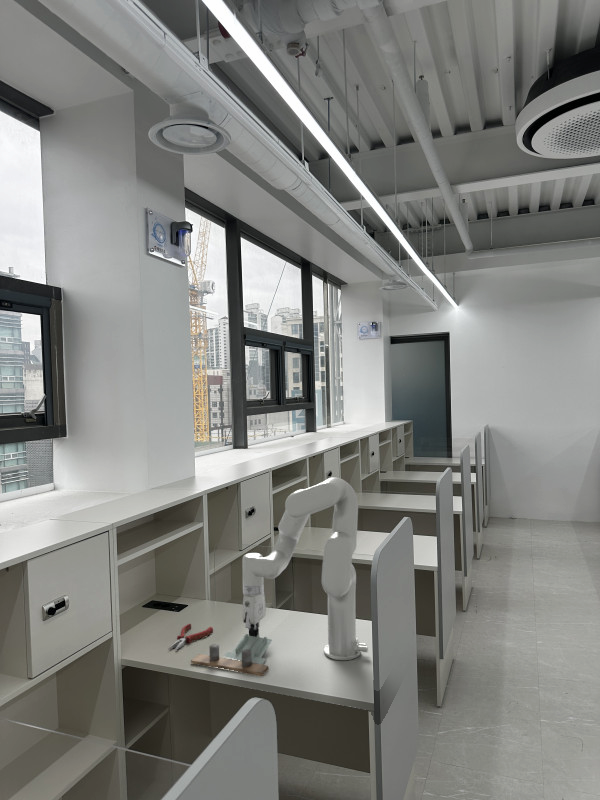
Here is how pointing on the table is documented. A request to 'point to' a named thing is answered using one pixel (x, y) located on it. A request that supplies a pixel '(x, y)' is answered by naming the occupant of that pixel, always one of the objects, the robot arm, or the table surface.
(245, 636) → the metal bracket
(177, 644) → the pliers
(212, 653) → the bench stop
